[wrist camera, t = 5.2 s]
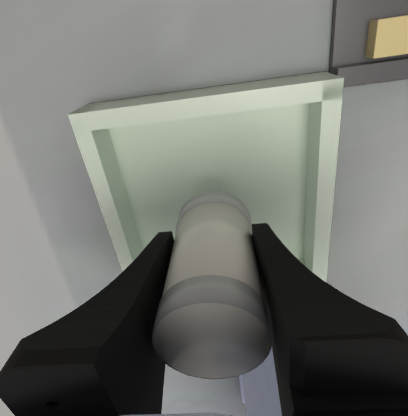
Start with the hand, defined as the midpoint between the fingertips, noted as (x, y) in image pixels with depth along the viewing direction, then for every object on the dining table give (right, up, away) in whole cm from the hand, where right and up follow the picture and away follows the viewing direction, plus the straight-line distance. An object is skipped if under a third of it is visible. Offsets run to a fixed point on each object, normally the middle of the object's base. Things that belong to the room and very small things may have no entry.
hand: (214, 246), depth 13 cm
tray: (0, +3, +5) cm, 5 cm away
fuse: (0, +1, +1) cm, 2 cm away
